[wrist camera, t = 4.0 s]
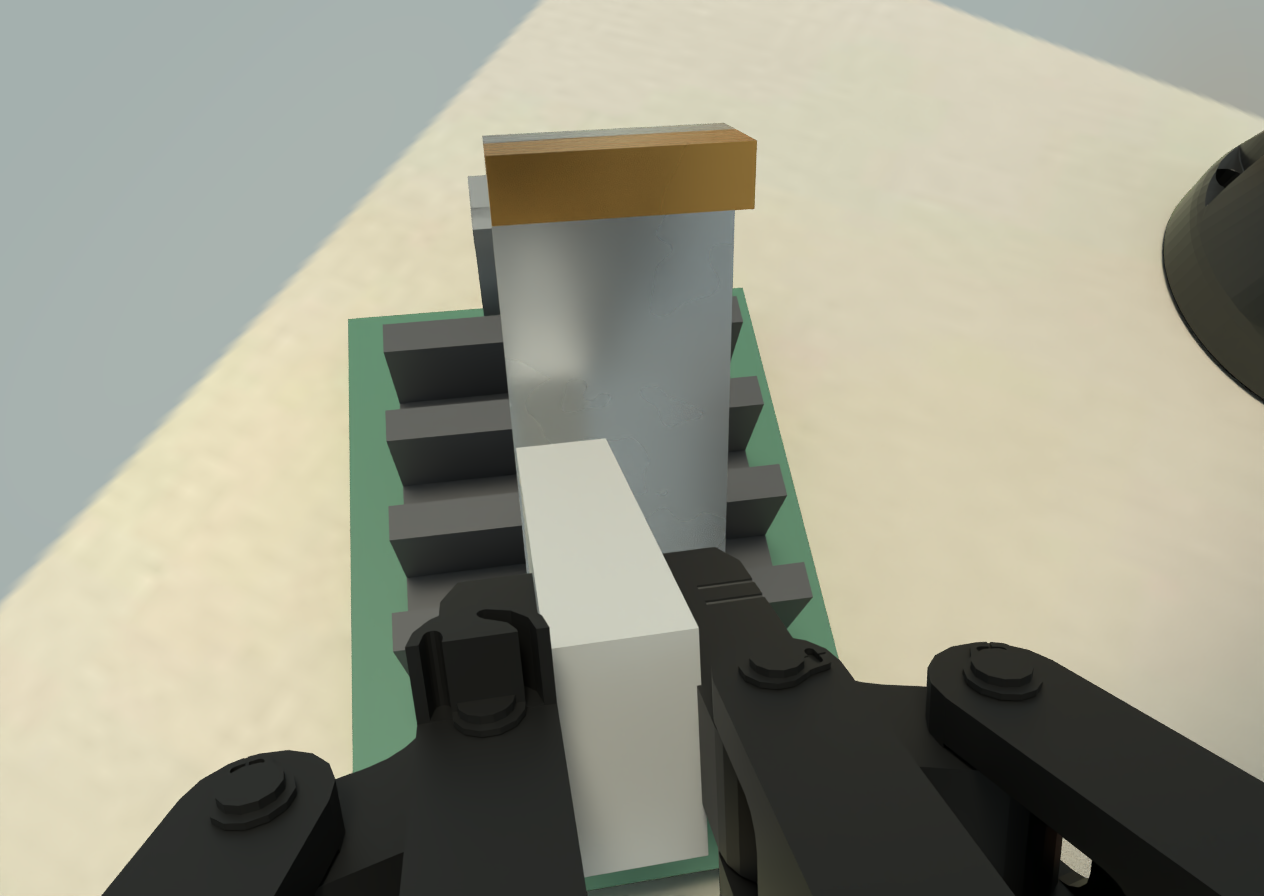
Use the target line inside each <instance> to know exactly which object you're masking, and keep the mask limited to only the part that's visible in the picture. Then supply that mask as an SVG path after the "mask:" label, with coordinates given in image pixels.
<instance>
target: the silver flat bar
mask: <svg viewBox="0 0 1264 896" xmlns="http://www.w3.org/2000/svg"><path fill="white" fill-rule="evenodd" d="M482 138H483V148H484V157H485V167H486V177H487V187H488V197H489V207H490V216H491V226H492V236H493V246H494V256H495V266H496V275H497V285H498V295H499V305H500V315H501V325H502V334H503V344H504V354H505V364H506V374H507V384H508V393H509V403H510V413H511V423H512V433H513V443H514V453H515V462H516V472H517V482H518V492H519V502H520V512H521V521H522V531H523V541H524V551H525V561H526V571H527V574H528V573H529V566H528V556H527V547H526V537H525V528H524V519H523V509H522V500H521V490H520V481H519V472H518V462H517V453H516V448H520V447H530V446H539V445H548V444H558V443H567V442H576V441H585V440H595V439H604V438H606V440H607V442H608V444H609V446H610V448H611V450H612V452H613V454H614V456H615V458H616V460H617V462H618V464H619V466H620V468H621V471H622V473H623V475H624V477H625V479H626V481H627V483H628V485H629V487H630V489H631V491H632V493H633V495H634V497H635V499H636V501H637V503H638V505H639V507H640V509H641V511H642V513H643V515H644V517H645V519H646V521H647V524H648V526H649V528H650V530H651V532H652V534H653V536H654V538H655V540H656V542H657V544H658V546H659V548H660V550H661V552H662V553H670V552H678V551H686V550H694V549H702V548H710V547H716V548H718V549H720V550H722V551H723V552H725V543H726V507H727V471H728V434H729V398H730V362H731V325H732V289H733V253H734V216H735V210H743V209H754V205H755V178H756V152H757V140H755V139H753V138H751V137H749V136H747V135H746V134H744V133H742V132H740V131H738V130H736V129H734V128H733V127H731V126H729V125H727V124H725V123H713V124H694V125H676V126H657V127H638V128H620V129H601V130H582V131H564V132H545V133H526V134H508V135H489V136H482Z"/></svg>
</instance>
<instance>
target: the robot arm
mask: <svg viewBox="0 0 1264 896" xmlns="http://www.w3.org/2000/svg"><path fill="white" fill-rule="evenodd" d="M1164 261H1165V268H1166V273H1167V277H1168V281H1169V284H1170V287H1171V290H1172V293H1173V295H1174V298H1175V300H1176V302H1177V304H1178V306H1179V308H1180V310H1181V312H1182V314H1183V316H1184V317H1185V319H1186V321H1187V322H1188V324H1189V325H1190V327H1191V328H1192V330H1193V331H1194V333H1195V334H1196V336H1197V337H1198V338H1199V340H1200V341H1201V342H1202V343H1203V345H1204V346H1205V347H1206V348H1207V349H1208V351H1209V352H1210V353H1211V354H1212V355H1213V356H1214V357H1215V358H1216V359H1217V360H1218V361H1219V362H1220V364H1221V365H1223V366H1224V367H1225V368H1226V369H1227V370H1228V371H1229V372H1230V373H1231V374H1232V375H1233V376H1234V377H1236V378H1237V379H1238V380H1239V381H1240V382H1241V383H1243V384H1244V385H1245V386H1246V387H1248V388H1249V389H1250V390H1251V391H1253V392H1254V393H1255V394H1257V395H1258V396H1260V397H1261V398H1263V399H1264V131H1262V132H1260V133H1259V134H1257V135H1255V136H1254V137H1252V138H1250V139H1249V140H1247V141H1245V142H1244V143H1242V144H1240V145H1239V146H1237V147H1235V148H1234V149H1232V150H1231V151H1230V152H1228V153H1227V154H1225V155H1224V156H1223V157H1222V158H1220V159H1219V160H1218V161H1217V162H1216V163H1215V164H1213V165H1212V166H1211V167H1210V168H1209V169H1208V171H1207V172H1206V173H1205V174H1204V175H1203V176H1202V177H1201V178H1200V180H1199V181H1198V182H1197V183H1196V184H1195V185H1194V186H1193V187H1192V189H1191V190H1190V191H1189V192H1188V193H1187V194H1186V195H1185V196H1184V198H1183V199H1182V200H1181V201H1180V202H1179V204H1178V205H1177V206H1176V208H1175V210H1174V211H1173V213H1172V215H1171V218H1170V220H1169V222H1168V226H1167V229H1166V234H1165V239H1164ZM516 453H517V462H518V472H519V481H520V490H521V500H522V509H523V519H524V528H525V537H526V547H527V556H528V566H529V573H528V574H520V575H512V576H504V577H497V578H489V579H481V580H473V581H465V582H457V584H456V585H455V586H454V587H453V588H452V589H451V590H450V592H449V593H448V594H447V595H446V596H445V597H444V598H443V600H442V601H441V602H440V608H439V616H437V617H435V618H432V619H430V620H428V621H427V622H426V623H424V624H423V625H422V626H420V627H419V628H418V629H417V630H415V631H414V632H413V633H412V634H411V636H410V638H409V640H408V642H407V644H406V646H405V651H406V658H407V664H408V670H409V677H410V683H411V689H412V696H413V702H414V708H415V715H416V721H417V730H416V738H415V739H414V740H413V741H412V742H411V743H409V744H408V745H407V746H406V747H405V748H403V749H402V750H400V751H399V752H397V753H396V754H394V755H392V756H391V757H389V758H388V759H386V760H383V761H381V762H379V763H377V764H374V765H372V766H370V767H368V768H365V769H362V770H360V771H357V772H354V773H351V774H349V775H346V776H343V777H340V778H338V779H335V777H334V775H333V772H332V770H331V767H330V764H329V763H327V762H326V761H324V760H323V759H321V758H319V757H318V756H316V755H314V754H313V753H306V752H298V751H291V750H285V751H277V752H269V753H261V754H257V755H253V756H249V757H248V758H245V759H244V758H243V759H240V760H238V761H235V762H233V763H230V764H228V765H226V766H224V767H223V768H221V769H219V770H217V771H216V772H214V773H212V774H210V775H209V776H207V777H205V778H203V779H202V780H200V781H199V782H198V783H197V784H196V785H195V786H194V787H193V788H192V789H190V790H189V791H188V792H187V793H186V794H185V795H184V796H183V797H182V798H181V799H180V800H179V801H178V802H177V803H176V804H175V806H174V807H173V808H172V809H171V811H170V812H169V813H168V814H167V815H166V817H165V818H164V819H163V820H162V822H161V823H160V824H159V825H158V827H157V828H156V829H155V830H154V832H153V833H152V834H151V835H150V836H149V838H148V839H147V840H146V841H145V843H144V844H143V845H142V846H141V848H140V849H139V850H138V851H137V852H136V854H135V855H134V856H133V857H132V859H131V860H130V861H129V862H128V864H127V865H126V866H125V867H124V869H123V870H122V871H121V872H120V873H119V875H118V876H117V877H116V878H115V880H114V881H113V882H112V883H111V885H110V886H109V887H108V888H107V889H106V891H105V892H104V893H103V894H102V896H587V891H586V884H585V878H584V877H589V876H595V875H600V874H606V873H612V872H617V871H623V870H629V869H634V868H640V867H645V866H651V865H657V864H662V863H668V862H674V861H679V860H685V859H691V858H696V857H702V856H707V855H708V832H707V818H708V821H709V824H710V827H711V829H712V832H713V835H714V838H715V841H716V843H717V846H718V857H719V883H720V896H1264V782H1262V781H1260V780H1259V779H1257V778H1255V777H1253V776H1252V775H1250V774H1248V773H1247V772H1245V771H1243V770H1241V769H1240V768H1238V767H1236V766H1234V765H1233V764H1231V763H1229V762H1228V761H1226V760H1224V759H1222V758H1221V757H1219V756H1217V755H1215V754H1214V753H1212V752H1210V751H1209V750H1207V749H1205V748H1203V747H1202V746H1200V745H1198V744H1196V743H1195V742H1193V741H1191V740H1189V739H1188V738H1186V737H1184V736H1183V735H1181V734H1179V733H1177V732H1176V731H1174V730H1172V729H1170V728H1169V727H1167V726H1165V725H1164V724H1162V723H1160V722H1158V721H1157V720H1155V719H1153V718H1151V717H1150V716H1148V715H1146V714H1144V713H1143V712H1141V711H1139V710H1138V709H1136V708H1134V707H1132V706H1131V705H1129V704H1127V703H1125V702H1124V701H1122V700H1120V699H1119V698H1117V697H1115V696H1113V695H1112V694H1110V693H1108V692H1106V691H1105V690H1103V689H1101V688H1100V687H1098V686H1096V685H1094V684H1093V683H1091V682H1089V681H1087V680H1086V679H1084V678H1082V677H1080V676H1079V675H1077V674H1075V673H1074V672H1072V671H1070V670H1068V669H1067V668H1065V667H1063V666H1061V665H1060V664H1058V663H1056V662H1055V661H1053V660H1051V659H1048V658H1046V657H1044V656H1041V655H1039V654H1037V653H1034V652H1032V651H1030V650H1027V649H1022V648H1018V647H1013V646H1009V645H1007V644H1004V643H995V642H990V643H987V642H975V643H970V644H964V645H959V646H953V647H950V648H948V649H946V650H944V651H942V652H941V653H939V654H937V655H935V656H934V658H933V660H932V661H931V663H930V665H929V667H928V671H927V687H922V686H901V685H881V684H872V683H864V682H858V681H855V680H854V678H853V677H852V676H851V674H850V673H849V672H848V670H847V669H846V668H845V666H844V665H843V664H842V662H841V661H840V660H839V659H838V658H837V657H835V656H834V655H833V654H832V653H831V652H830V651H828V650H827V649H826V648H824V647H821V646H819V645H816V644H814V643H811V642H809V641H806V640H802V639H796V638H793V637H792V636H791V634H790V633H789V631H788V630H787V629H786V627H785V626H784V624H783V623H782V621H781V620H780V618H779V617H778V615H777V614H776V612H775V611H774V610H773V608H772V607H771V605H770V604H769V602H768V601H767V599H766V598H765V597H763V596H762V592H761V591H760V589H759V588H758V586H757V585H756V583H755V582H753V581H752V577H751V576H750V574H749V573H748V571H747V570H746V569H745V567H744V566H743V564H742V563H741V561H740V560H738V559H736V558H735V557H733V556H731V555H729V554H727V553H725V552H723V551H722V550H720V549H718V548H716V547H710V548H702V549H694V550H686V551H678V552H670V553H662V552H661V550H660V548H659V546H658V544H657V542H656V540H655V538H654V536H653V534H652V532H651V530H650V528H649V526H648V524H647V521H646V519H645V517H644V515H643V513H642V511H641V509H640V507H639V505H638V503H637V501H636V499H635V497H634V495H633V493H632V491H631V489H630V487H629V485H628V483H627V481H626V479H625V477H624V475H623V473H622V471H621V468H620V466H619V464H618V462H617V460H616V458H615V456H614V454H613V452H612V450H611V448H610V446H609V444H608V442H607V440H606V438H604V439H595V440H585V441H576V442H567V443H558V444H548V445H539V446H530V447H520V448H516ZM1062 838H1065V839H1066V840H1067V841H1068V842H1070V843H1071V844H1072V845H1073V846H1075V847H1076V848H1077V849H1079V850H1080V851H1081V852H1082V853H1084V854H1085V855H1086V856H1087V857H1089V858H1090V859H1091V860H1092V865H1091V873H1090V876H1089V878H1085V877H1083V876H1081V875H1080V874H1078V873H1076V872H1075V871H1073V870H1072V869H1071V868H1070V867H1068V866H1067V865H1066V864H1065V863H1063V862H1062V861H1061V860H1060V856H1061V847H1062Z"/></svg>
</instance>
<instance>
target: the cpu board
mask: <svg viewBox="0 0 1264 896" xmlns="http://www.w3.org/2000/svg"><path fill="white" fill-rule="evenodd" d="M468 185H469V196H470V206H471V217H472V228H473V236H474V244H475V249H476V257H477V265H478V273H479V281H480V288H481V296H482V304H483V308H482V309H469V310H457V311H444V312H432V313H419V314H407V315H394V316H382V317H369V318H356V319H348V344H349V440H350V537H351V633H352V729H353V773H354V772H357V771H360V770H362V769H365V768H368V767H370V766H372V765H374V764H377V763H379V762H381V761H383V760H386V759H388V758H389V757H391V756H392V755H394V754H396V753H397V752H399V751H400V750H402V749H403V748H405V747H406V746H407V745H408V744H409V743H411V742H412V741H413V740H414V739H415V738H416V730H417V721H416V715H415V708H414V702H413V696H412V689H411V683H410V677H409V670H408V664H407V658H406V651H405V646H406V644H407V642H408V640H409V638H410V636H411V634H412V633H413V632H414V631H415V630H417V629H418V628H419V627H420V626H422V625H423V624H424V623H426V622H427V621H428V620H430V619H432V618H435V617H437V616H439V608H440V602H441V601H442V600H443V598H444V597H445V596H446V595H447V594H448V593H449V592H450V590H451V589H452V588H453V587H454V586H455V585H456V584H457V582H465V581H473V580H481V579H489V578H497V577H504V576H512V575H520V574H527V571H526V561H525V551H524V541H523V531H522V521H521V512H520V502H519V492H518V482H517V472H516V462H515V453H514V443H513V433H512V423H511V413H510V403H509V393H508V384H507V374H506V364H505V354H504V344H503V334H502V325H501V315H500V305H499V295H498V285H497V275H496V266H495V256H494V246H493V236H492V226H491V216H490V207H489V197H488V187H487V177H486V175H483V176H468ZM725 553H727V554H729V555H731V556H733V557H735V558H736V559H738V560H740V561H741V563H742V564H743V566H744V567H745V569H746V570H747V571H748V573H749V574H750V576H751V577H752V581H753V582H755V583H756V585H757V586H758V588H759V589H760V591H761V592H762V596H763V597H765V598H766V599H767V601H768V602H769V604H770V605H771V607H772V608H773V610H774V611H775V612H776V614H777V615H778V617H779V618H780V620H781V621H782V623H783V624H784V626H785V627H786V629H787V630H788V631H789V633H790V634H791V636H792V637H793V638H796V639H802V640H806V641H809V642H811V643H814V644H816V645H819V646H821V647H824V648H826V649H827V650H828V651H830V652H831V653H832V654H833V655H834V656H835V657H837V658H838V655H837V651H836V647H835V643H834V639H833V635H832V632H831V628H830V624H829V620H828V616H827V612H826V608H825V604H824V601H823V597H822V593H821V589H820V585H819V581H818V577H817V574H816V570H815V566H814V562H813V558H812V554H811V550H810V547H809V543H808V539H807V535H806V531H805V527H804V523H803V519H802V516H801V512H800V508H799V504H798V500H797V496H796V492H795V489H794V485H793V481H792V477H791V473H790V469H789V465H788V462H787V458H786V454H785V450H784V446H783V442H782V438H781V435H780V431H779V427H778V423H777V419H776V415H775V411H774V407H773V404H772V400H771V396H770V392H769V388H768V384H767V380H766V377H765V373H764V369H763V365H762V361H761V357H760V353H759V350H758V346H757V342H756V338H755V334H754V330H753V326H752V322H751V319H750V315H749V311H748V307H747V303H746V299H745V295H744V292H743V288H733V289H732V325H731V362H730V398H729V434H728V471H727V507H726V543H725ZM707 832H708V855H707V856H702V857H696V858H691V859H685V860H679V861H674V862H668V863H662V864H657V865H651V866H645V867H640V868H634V869H629V870H623V871H617V872H612V873H606V874H600V875H595V876H589V877H584V878H585V884H586V891H589V890H595V889H601V888H607V887H613V886H619V885H625V884H631V883H636V882H642V881H648V880H654V879H660V878H666V877H672V876H677V875H683V874H689V873H695V872H701V871H707V870H713V869H719V857H718V846H717V843H716V841H715V838H714V835H713V832H712V829H711V827H710V824H709V821H708V818H707Z"/></svg>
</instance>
